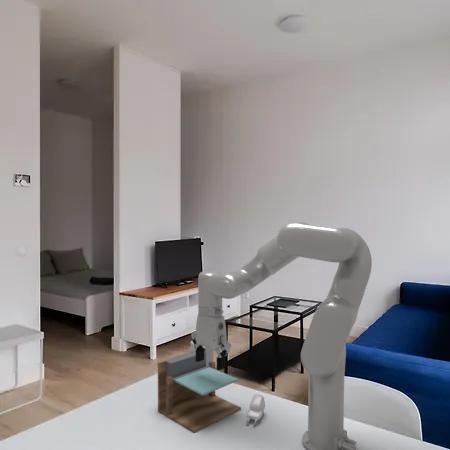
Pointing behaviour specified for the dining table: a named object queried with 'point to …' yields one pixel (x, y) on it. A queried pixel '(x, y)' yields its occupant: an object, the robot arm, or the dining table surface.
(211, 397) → the stand
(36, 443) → the dining table surface
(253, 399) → the power adapter
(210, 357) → the skincare box
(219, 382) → the flap
